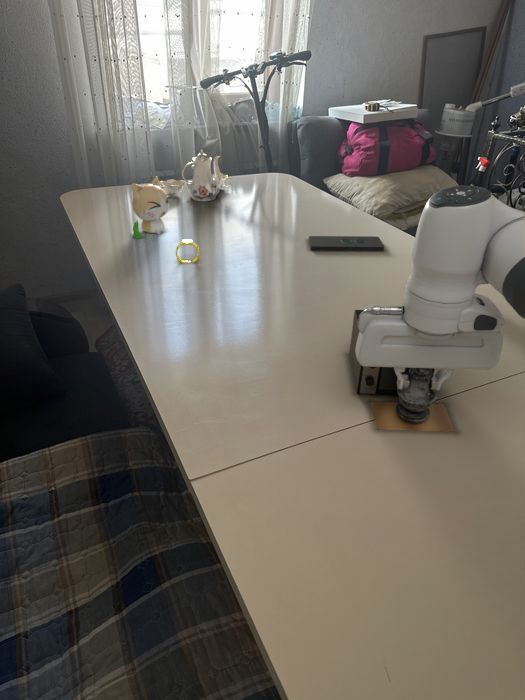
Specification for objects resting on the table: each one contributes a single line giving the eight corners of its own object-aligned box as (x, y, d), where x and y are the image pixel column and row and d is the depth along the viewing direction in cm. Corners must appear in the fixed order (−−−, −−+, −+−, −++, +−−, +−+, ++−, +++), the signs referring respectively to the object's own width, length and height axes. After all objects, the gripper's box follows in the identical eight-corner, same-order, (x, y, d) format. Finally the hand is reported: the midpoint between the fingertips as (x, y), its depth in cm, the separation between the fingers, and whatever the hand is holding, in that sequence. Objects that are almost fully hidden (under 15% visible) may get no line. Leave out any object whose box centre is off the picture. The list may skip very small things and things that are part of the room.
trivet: (443, 406, 84) (443, 404, 84) (454, 433, 79) (455, 431, 79) (370, 404, 85) (370, 401, 84) (376, 431, 79) (376, 428, 79)
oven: (412, 358, 96) (422, 311, 91) (430, 404, 85) (442, 353, 79) (348, 356, 97) (354, 309, 91) (357, 401, 85) (365, 351, 80)
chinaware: (219, 189, 196) (214, 142, 188) (246, 194, 184) (242, 145, 176) (154, 202, 180) (147, 152, 173) (179, 209, 169) (172, 156, 161)
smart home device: (384, 246, 139) (311, 246, 139) (383, 252, 140) (310, 252, 140) (378, 235, 146) (308, 235, 146) (377, 241, 147) (308, 241, 147)
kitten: (148, 243, 144) (141, 189, 136) (122, 236, 148) (114, 183, 140) (182, 228, 155) (178, 177, 147) (156, 221, 159) (151, 172, 151)
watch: (176, 265, 131) (174, 243, 128) (176, 261, 133) (174, 239, 130) (200, 264, 132) (198, 242, 129) (199, 260, 134) (198, 238, 131)
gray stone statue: (386, 405, 82) (397, 341, 75) (414, 395, 84) (428, 332, 78) (410, 427, 78) (425, 361, 71) (440, 416, 80) (456, 351, 73)
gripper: (363, 316, 68) (352, 398, 76) (517, 320, 68) (491, 402, 76) (357, 295, 74) (347, 373, 81) (500, 299, 73) (477, 377, 81)
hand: (418, 387), depth 78 cm, fingers closed on gray stone statue, 3 cm apart
